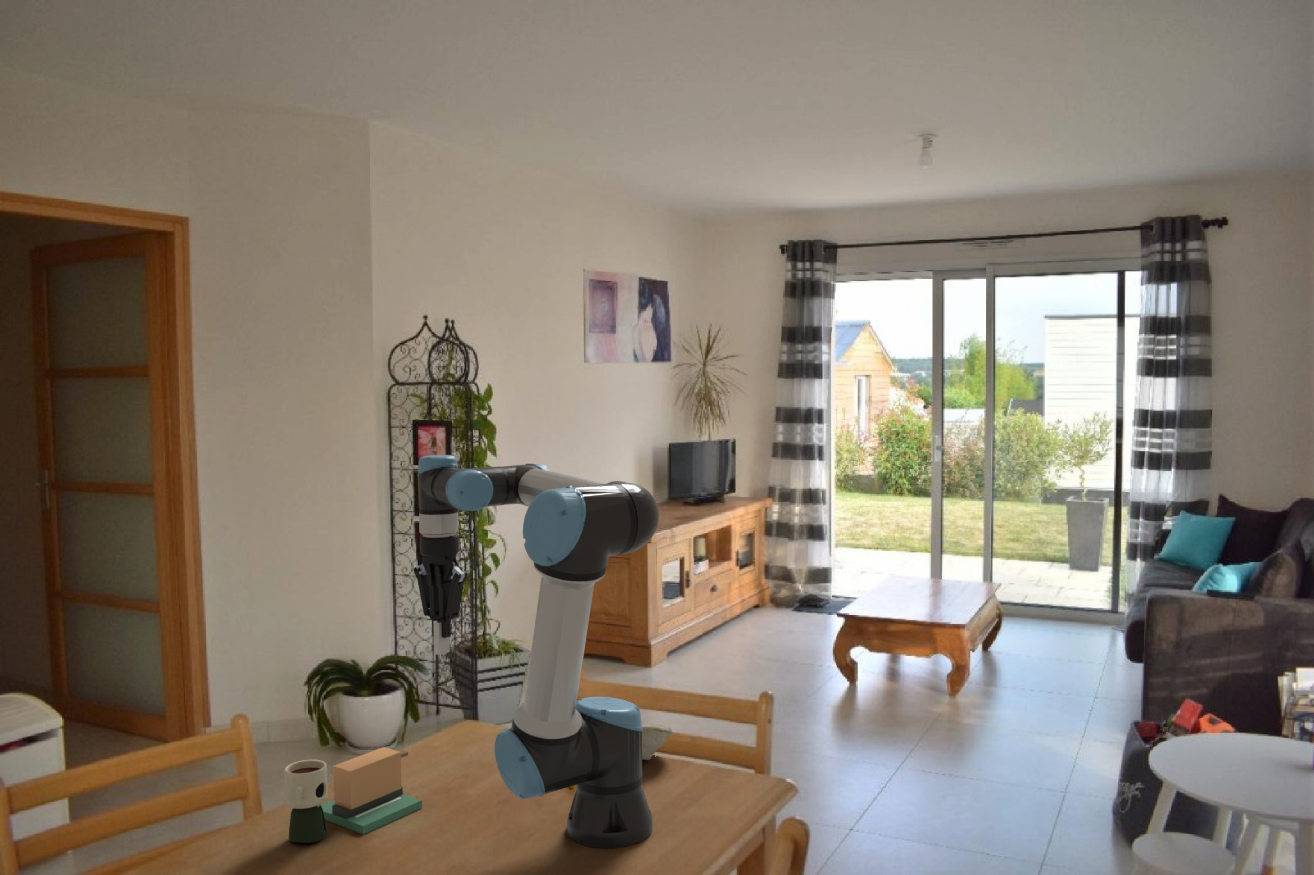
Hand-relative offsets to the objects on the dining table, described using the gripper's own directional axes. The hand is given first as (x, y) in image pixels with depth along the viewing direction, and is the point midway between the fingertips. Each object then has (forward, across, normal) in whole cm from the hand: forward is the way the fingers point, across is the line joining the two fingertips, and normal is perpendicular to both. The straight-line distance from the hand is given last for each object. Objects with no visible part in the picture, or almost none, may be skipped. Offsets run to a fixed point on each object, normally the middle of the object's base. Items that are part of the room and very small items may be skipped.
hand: (441, 652), depth 204 cm
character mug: (+27, +2, +31) cm, 41 cm away
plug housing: (+23, +2, +16) cm, 28 cm away
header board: (+26, +2, +17) cm, 32 cm away
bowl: (+27, -24, -32) cm, 48 cm away
